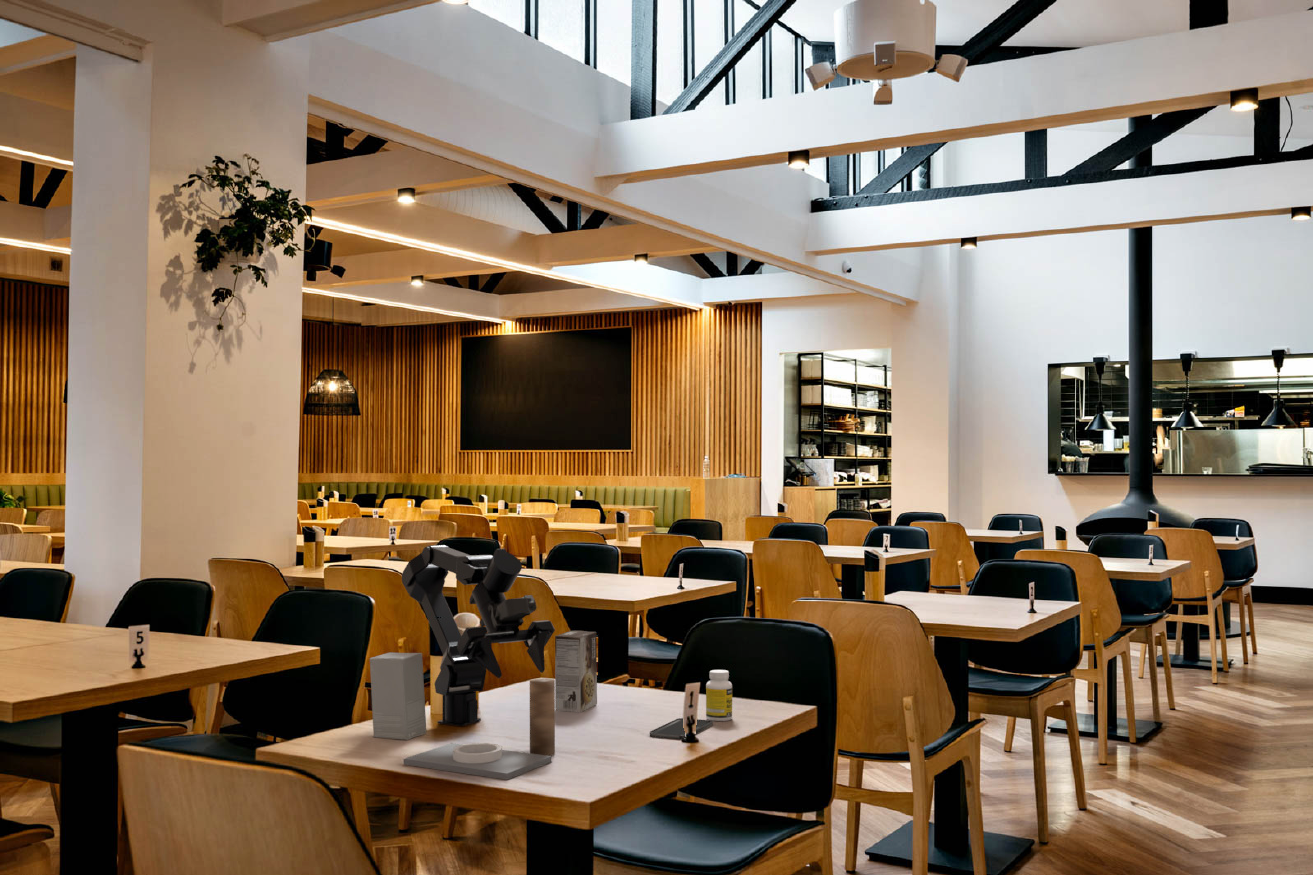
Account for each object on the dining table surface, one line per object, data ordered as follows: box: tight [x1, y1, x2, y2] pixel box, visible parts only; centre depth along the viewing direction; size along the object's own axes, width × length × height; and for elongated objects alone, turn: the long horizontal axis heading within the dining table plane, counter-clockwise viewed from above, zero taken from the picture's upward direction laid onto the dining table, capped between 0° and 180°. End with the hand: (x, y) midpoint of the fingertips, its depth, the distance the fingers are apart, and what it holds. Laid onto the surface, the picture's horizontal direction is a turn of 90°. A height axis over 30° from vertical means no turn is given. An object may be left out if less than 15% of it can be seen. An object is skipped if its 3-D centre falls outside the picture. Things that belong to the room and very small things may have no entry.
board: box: [403, 742, 553, 781], centre depth 188 cm, size 22×13×2 cm, turn 62°
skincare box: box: [369, 652, 427, 741], centre depth 210 cm, size 8×7×16 cm
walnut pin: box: [529, 677, 556, 756], centre depth 195 cm, size 4×4×13 cm
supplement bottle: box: [705, 669, 733, 722], centre depth 223 cm, size 5×5×10 cm
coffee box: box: [554, 630, 598, 713], centre depth 236 cm, size 9×6×16 cm
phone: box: [649, 717, 714, 741], centre depth 213 cm, size 8×1×15 cm
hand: (521, 674), depth 202 cm, fingers open, 9 cm apart
